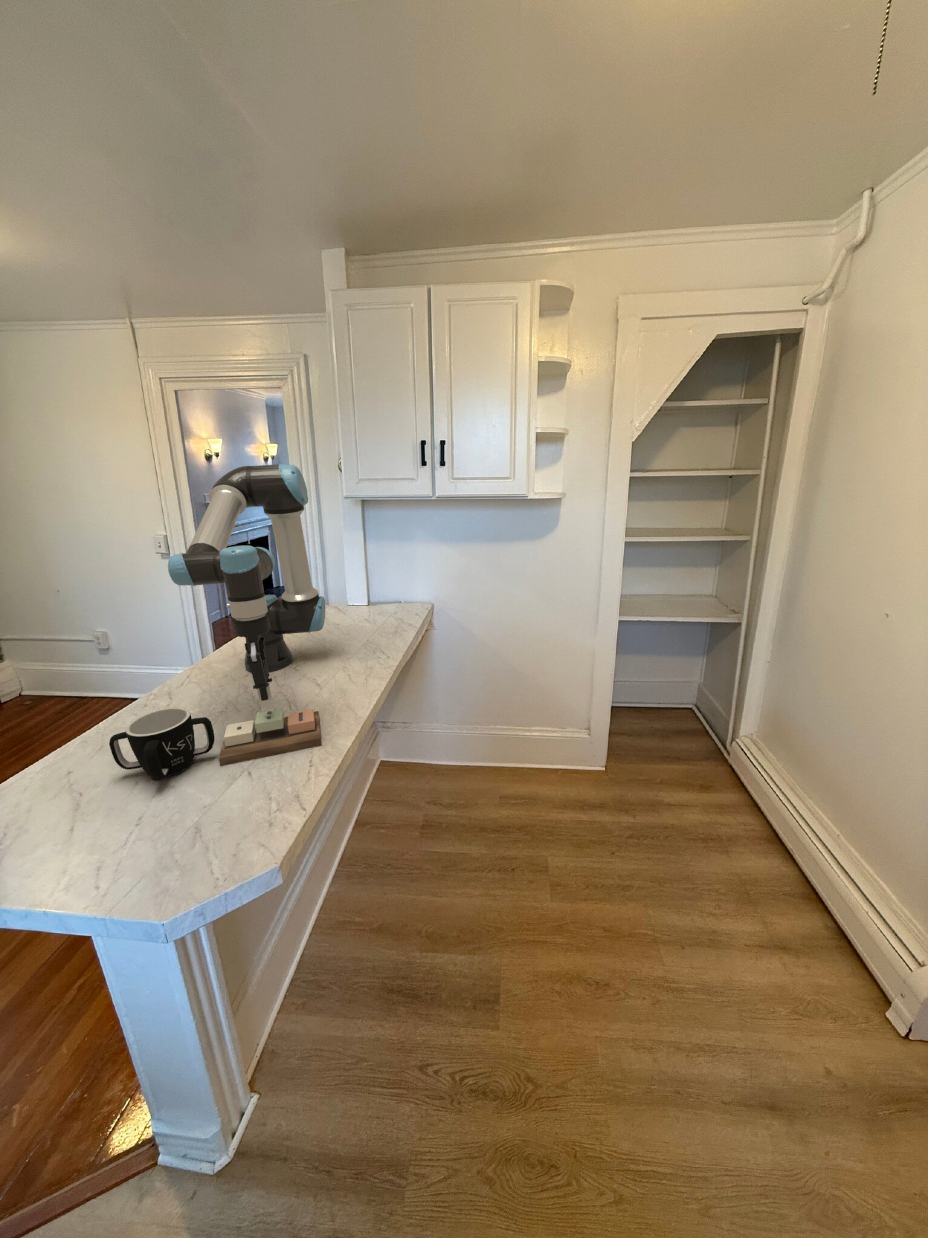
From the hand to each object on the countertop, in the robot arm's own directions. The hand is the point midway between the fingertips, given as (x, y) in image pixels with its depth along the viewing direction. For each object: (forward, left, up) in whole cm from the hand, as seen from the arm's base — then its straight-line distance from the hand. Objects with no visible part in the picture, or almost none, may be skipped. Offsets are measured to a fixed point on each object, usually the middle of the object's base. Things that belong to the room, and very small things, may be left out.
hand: (267, 710), depth 113 cm
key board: (0, 0, -8) cm, 8 cm away
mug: (+3, -22, -9) cm, 23 cm away
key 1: (0, -7, -6) cm, 9 cm away
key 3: (0, +7, -6) cm, 9 cm away
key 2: (0, 0, -4) cm, 4 cm away
